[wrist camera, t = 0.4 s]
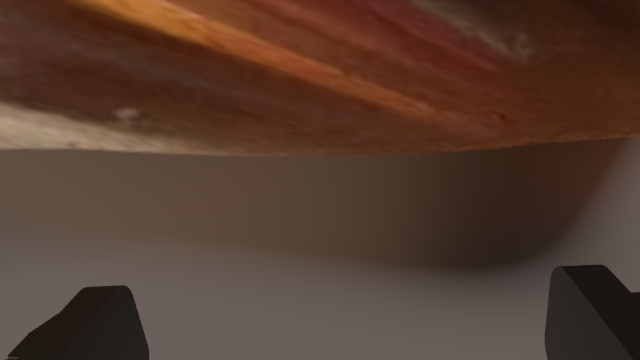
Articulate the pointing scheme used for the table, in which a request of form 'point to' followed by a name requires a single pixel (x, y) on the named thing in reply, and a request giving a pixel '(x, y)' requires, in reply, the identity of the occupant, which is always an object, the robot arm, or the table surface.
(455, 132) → the table surface
